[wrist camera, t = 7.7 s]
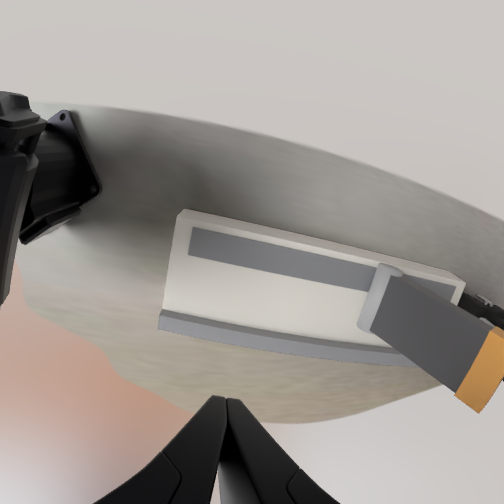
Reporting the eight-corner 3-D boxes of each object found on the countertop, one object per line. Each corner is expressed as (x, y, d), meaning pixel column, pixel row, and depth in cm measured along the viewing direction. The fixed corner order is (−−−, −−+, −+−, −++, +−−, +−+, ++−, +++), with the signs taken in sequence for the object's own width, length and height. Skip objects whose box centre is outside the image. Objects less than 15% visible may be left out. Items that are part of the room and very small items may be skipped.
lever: (351, 322, 19) (476, 415, 11) (373, 262, 18) (518, 346, 10) (366, 320, 20) (486, 405, 12) (388, 263, 19) (524, 340, 11)
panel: (167, 307, 22) (157, 331, 19) (184, 208, 20) (173, 219, 17) (415, 347, 24) (433, 370, 21) (448, 271, 22) (472, 287, 19)
